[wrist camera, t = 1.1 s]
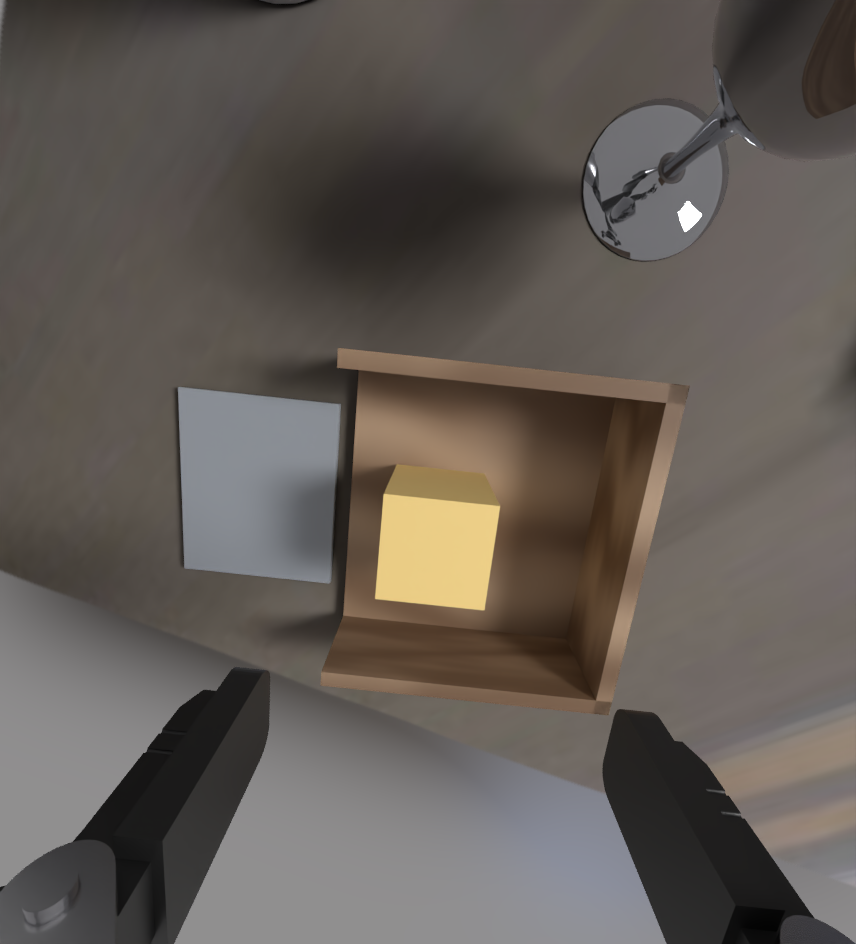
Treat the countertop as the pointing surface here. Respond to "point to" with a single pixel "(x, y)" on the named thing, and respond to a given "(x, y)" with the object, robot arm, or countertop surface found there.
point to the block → (437, 537)
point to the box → (508, 527)
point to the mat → (258, 483)
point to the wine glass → (726, 124)
